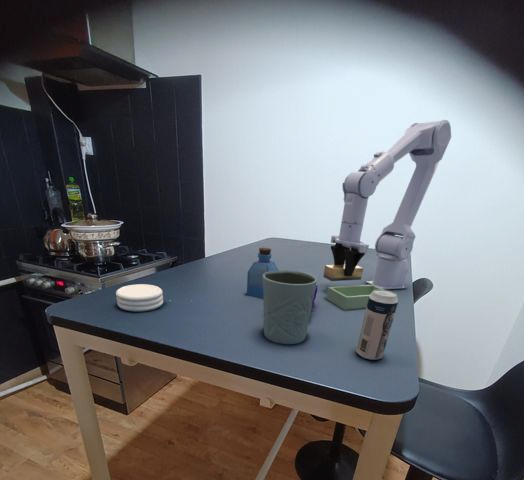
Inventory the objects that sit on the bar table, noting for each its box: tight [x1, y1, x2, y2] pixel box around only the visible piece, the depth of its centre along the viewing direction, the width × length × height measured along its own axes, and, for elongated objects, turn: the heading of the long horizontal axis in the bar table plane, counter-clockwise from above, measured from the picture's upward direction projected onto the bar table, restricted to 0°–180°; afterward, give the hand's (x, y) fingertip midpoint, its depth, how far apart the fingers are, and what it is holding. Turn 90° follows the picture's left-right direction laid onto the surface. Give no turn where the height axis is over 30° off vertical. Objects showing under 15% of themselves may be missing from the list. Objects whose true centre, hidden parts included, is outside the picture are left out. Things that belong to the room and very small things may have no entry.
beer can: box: [355, 289, 399, 361], centre depth 56 cm, size 5×5×12 cm
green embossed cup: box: [262, 269, 318, 345], centre depth 62 cm, size 10×10×12 cm
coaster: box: [115, 283, 164, 313], centre depth 73 cm, size 10×10×4 cm
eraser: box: [323, 264, 364, 282], centre depth 91 cm, size 10×4×3 cm, turn 112°
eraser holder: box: [325, 284, 384, 311], centre depth 85 cm, size 15×9×3 cm, turn 112°
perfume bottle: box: [246, 247, 279, 299], centre depth 84 cm, size 6×6×12 cm
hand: (342, 273), depth 91 cm, fingers closed on eraser, 4 cm apart
